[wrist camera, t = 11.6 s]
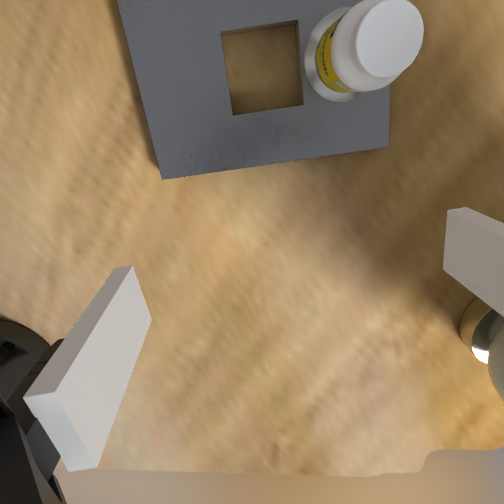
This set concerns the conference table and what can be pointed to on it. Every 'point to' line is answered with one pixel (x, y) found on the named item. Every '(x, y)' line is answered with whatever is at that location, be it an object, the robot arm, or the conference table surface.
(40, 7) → the conference table surface
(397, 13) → the supplement bottle
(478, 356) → the lamp
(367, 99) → the housing plate
